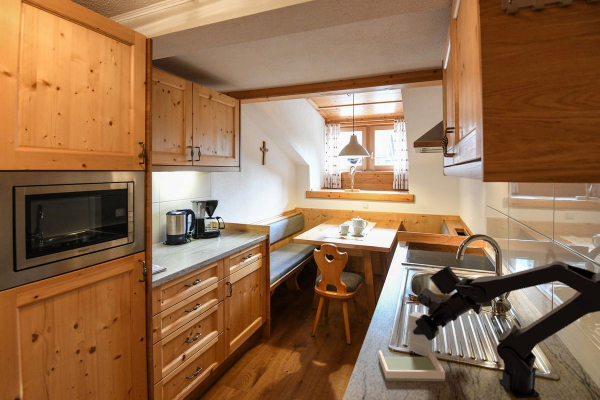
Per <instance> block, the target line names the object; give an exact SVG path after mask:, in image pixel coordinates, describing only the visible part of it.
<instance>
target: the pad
mask: <svg viewBox="0 0 600 400" xmlns="http://www.w3.org/2000/svg"><path fill="white" fill-rule="evenodd" d="M378 360H379V365H380V366H381V370H382V372H383V376H384V379H385V381H386V382H387V381H388V382H446V371H445V369H444V368H443V366H442V365H441V363H440V362H439V360H438V359H437V357H436V355H435V353H434V352H433V350H432V351H429V356H428V357H425V356H384V354H383V350H378Z"/></svg>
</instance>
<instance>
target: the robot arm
mask: <svg viewBox="0 0 600 400" xmlns="http://www.w3.org/2000/svg"><path fill="white" fill-rule="evenodd" d="M429 280H430V281H431V282H432V284H433V285H434V286H435V287H436V288H437V289H438V291H440V293H441V294H443V295H444V296H445V295H447V296H448V295H449V296H448V297H443V298H442V297H439V296H438V295H437V294H436V293H435V292H433V291H432V290H430V289H429V288H427V287H425V288H423V289H422V290H421V291H420V293H418V295H417V298H416V301H417V302H418V303H420V304H421V305H422V306H423V307H426V308H428V309H427V315H425V313H423V314H424V315H421V316H420V317H419V318H418V319H417V320H416V321H415V323H416V325H417V327H416V328H415V329H414V330H413V331H412V332H413V333H414V335H425V336H426V338H427V339H428V340H432V341H433V340H434V339H435V338H437V336H438V335H439V334H440V329H439V327H441V328H445V327H446V326H447V325H448V324H449V323H451V322H455V321H456V320H458V318H460V317H461V316H462V315H465V314H466V313H467V312H469V311H471V310H472V311H474V313H475V314H476V315H477V316H478V315H479V314H480V313H482V311H483V304H485V303H487V302H489V301H492V300H495V299H497V298H498V297H500V296H502V295H505V294H507V293H510V292H514V291H520V290H523V289H528V288H531V287H536V286H541V285H545V284H551V283H554V282H559V283H562V284H564V285H565V286H567V287H569V288H570V289H572V290H574V291H576V292H575V293H574V294H573V295H572V296H571V297H570V298H568V299H567V300H565V301H563V302H562V303H561V304H559V305H558V306H556V307H554V308H553V309H552V310H550V311H549V312H547V313H546V314H543V316H541V317H539V318H538V319H536V320H535V321H533V322H532V323H530V324H529V325H527V326H525V327H522V328H521V327H520V328H518V326H517V325H516V324H513V325H512V326H511V327H510V328H508V329H507V330H503V331H502V334H501V335H500V337H499V339H498V341H497V342H498V343H497V345H496V353H497V355H498V357H499V358H500V359H501V360H502V362H503V369H502V377H501V378H499V380H498V382H499V383H500V384H501V385H502V387H504V388H506V389H507V390H508V391H509V392H510V393H511V395H513V397H515V398H530V397H531V398H532V397H533V398H534V397H540V393H539V392H538V391H537V390H535V389H536V388H535V386H536V373H537V370H536V368H535V367H534V365H535V362H536V359H537V356H536V355H535V354H534V353H533V350H534V348H535V347H536V346H537V345H539V344H540V343H542V342H543V341H546V339H549V338H551V336H553V335H556V334H557V333H558V332H560V331H561V330H563V329H565V328H567V327H568V326H570V325H571V324H573V323H575V322H576V321H578V320H579V319H581V318H584V317H585V316H586V315H588V314H593V313H599V312H600V272H594V271H592V270H590V269H587V268H582V267H579V266H575V265H571V264H569V263H567V262H564V261H561V260H556V261H553V262H551V263H548V264H543V265H540V266H535V267H532V268H528V269H523V270H520V271H517V272H513V273H508V274H505V275H485V276H484V275H483V276H478V277H475V278H468V277H467V278H465V277H463V278H462V279H460V278H459V277H458V276H457V274H456V273H455V272H454V270H453V269H452V267H450V265H446V266H445V267H443V268H441V269H440V270H438V271H437V272H435V273H433V274H432V275H431V276H429ZM455 291H456V292H455ZM453 292H454V293H453ZM451 293H452V294H451ZM450 294H451V295H450ZM428 315H429V316H428Z"/></svg>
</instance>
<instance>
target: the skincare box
mask: <svg viewBox="0 0 600 400" xmlns="http://www.w3.org/2000/svg"><path fill="white" fill-rule="evenodd" d="M424 314H425V313H424V312H423V313H422V312H419V311H413V312H411V313H410V314H409V315H408V319H409V321H408V322H409V324H408V325H409V326H408V330H409V331H408V332H409V333H408V337H409V338H408V346H409V347H408V350H410V351H409V352H411V351H413V352H412V353H414V352H415V353H414V354H417V355H420V356H421V357H429V351H432V352H433V339H432V340H428V339H427V338H426V336H425V335H414V333H413V332H412V331H413V330H414V329H415V328H416V327H417V325H416V323H415V321H416V320H417V319H418V318H419V317H420V316H421V315H424ZM425 315H428V313H426V314H425ZM428 316H429V315H428Z"/></svg>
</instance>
